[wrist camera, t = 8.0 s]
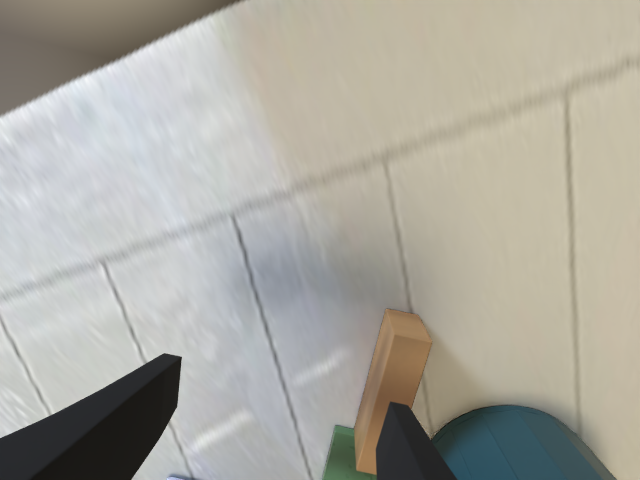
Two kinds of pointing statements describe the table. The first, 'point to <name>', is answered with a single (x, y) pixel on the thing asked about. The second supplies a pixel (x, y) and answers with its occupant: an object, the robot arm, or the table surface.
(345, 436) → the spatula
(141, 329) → the table surface
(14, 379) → the table surface
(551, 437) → the pot
